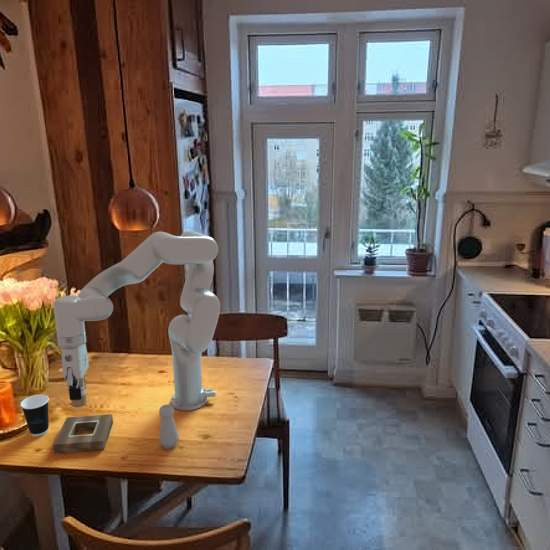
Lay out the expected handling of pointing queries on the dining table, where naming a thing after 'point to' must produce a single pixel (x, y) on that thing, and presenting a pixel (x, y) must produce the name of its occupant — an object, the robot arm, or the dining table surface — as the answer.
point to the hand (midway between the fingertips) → (78, 394)
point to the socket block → (83, 443)
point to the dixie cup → (36, 414)
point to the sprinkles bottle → (83, 394)
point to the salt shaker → (167, 427)
